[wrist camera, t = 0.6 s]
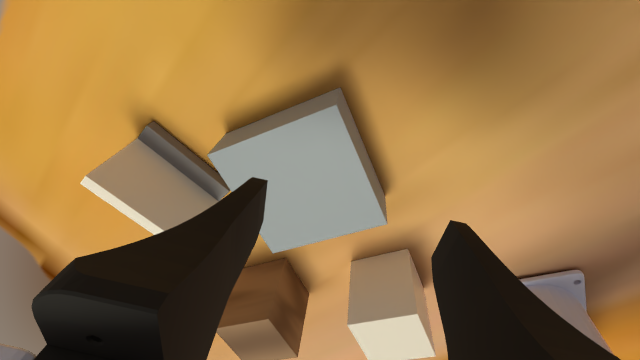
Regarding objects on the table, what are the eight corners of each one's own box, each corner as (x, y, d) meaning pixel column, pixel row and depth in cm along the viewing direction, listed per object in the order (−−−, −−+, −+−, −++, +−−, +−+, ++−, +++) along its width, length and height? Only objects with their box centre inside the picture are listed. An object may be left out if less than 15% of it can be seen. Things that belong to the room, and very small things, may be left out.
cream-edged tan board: (232, 185, 25) (200, 237, 20) (207, 210, 27) (171, 263, 22) (153, 120, 23) (95, 161, 18) (130, 151, 24) (71, 196, 20)
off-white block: (423, 288, 28) (435, 356, 23) (370, 297, 30) (370, 364, 25) (407, 248, 26) (417, 313, 21) (351, 260, 28) (347, 325, 23)
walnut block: (309, 293, 31) (297, 357, 26) (264, 302, 32) (245, 364, 27) (285, 257, 28) (268, 319, 23) (239, 268, 30) (213, 328, 25)
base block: (384, 193, 24) (387, 224, 21) (283, 222, 27) (272, 253, 24) (340, 85, 20) (336, 104, 17) (227, 131, 23) (207, 155, 20)
